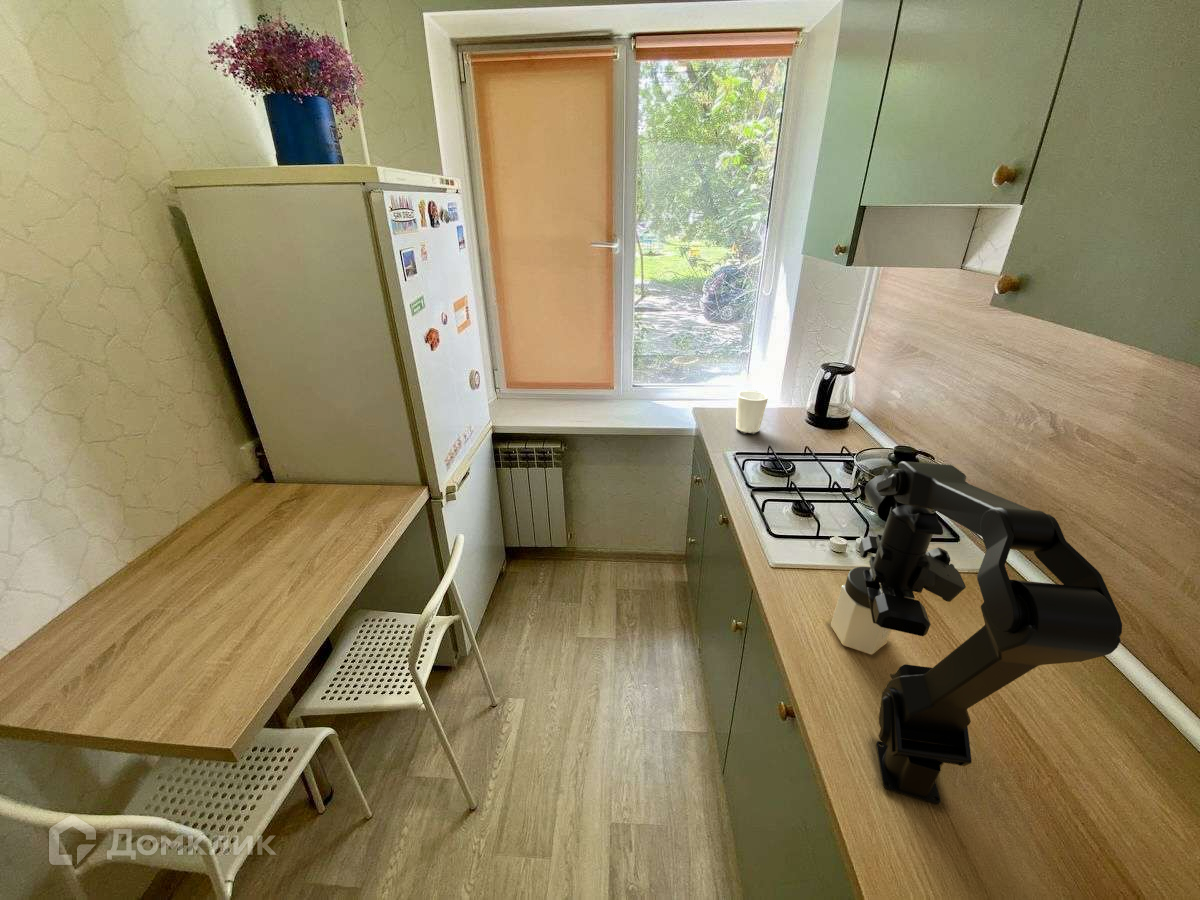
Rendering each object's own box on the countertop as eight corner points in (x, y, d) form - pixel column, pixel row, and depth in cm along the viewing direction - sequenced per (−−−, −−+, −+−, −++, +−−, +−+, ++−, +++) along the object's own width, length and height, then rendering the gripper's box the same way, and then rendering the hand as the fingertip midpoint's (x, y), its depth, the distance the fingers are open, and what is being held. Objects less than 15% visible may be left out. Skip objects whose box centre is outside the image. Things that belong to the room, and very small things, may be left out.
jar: (865, 662, 81) (884, 608, 76) (821, 630, 87) (836, 578, 82) (894, 639, 86) (914, 586, 80) (850, 610, 92) (866, 559, 87)
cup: (731, 424, 172) (735, 389, 166) (759, 425, 170) (765, 391, 165) (734, 435, 163) (739, 399, 157) (764, 437, 162) (770, 401, 156)
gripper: (993, 599, 60) (952, 685, 67) (949, 517, 76) (920, 594, 83) (892, 579, 63) (863, 663, 70) (870, 504, 79) (848, 579, 86)
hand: (876, 622), depth 77 cm, fingers closed
